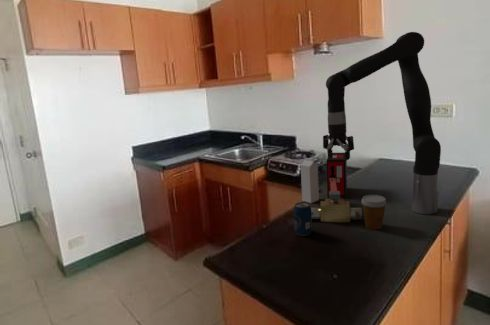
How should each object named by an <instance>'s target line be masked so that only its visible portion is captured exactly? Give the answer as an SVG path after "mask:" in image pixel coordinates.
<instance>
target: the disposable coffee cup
mask: <svg viewBox="0 0 490 325" xmlns="http://www.w3.org/2000/svg"><path fill="white" fill-rule="evenodd" d="M360 201H361V204H362V213H363V218H364V226H365V228H367V229H369V230H373V231H374V230H381V229H382V228H383V221H384V216H385V210H386V205H387V203H388V201H387V200H386V198H385V197H384V196H382V195H378V194H367V195H364V196H363V197H362V199H361V200H360Z"/></svg>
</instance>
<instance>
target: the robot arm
mask: <svg viewBox="0 0 490 325" xmlns="http://www.w3.org/2000/svg"><path fill="white" fill-rule="evenodd" d="M424 46H425V38H424V36H423V35H422V34H421V33H419V32H417V31H410V32H406V33H405V34H402V35H401V36H399V37H398V38H397V39H396V40H395V42H394V43H393V44H391V45H389V46H388V47H385V48H384V49H382V50H380V51H379V52H376V53H374V54H371V55H369V56H367V57H364V58H362V59H360V60H359V61H357V62H355V63H353V64H351V65H350V66H348V67H346V68H345V69H342V70H340V71H337V72H336V73H334V74H332V75H330V76H329V77H328V78H326V82H325V87H326V89H327V97H328V98H327V128H328V134H325V135H323V136H322V148H323V149H325V150H327V158H328V157H329V158H330V159H331V158H333V153H334V152H333V148H334V147H335V146H337V147H341V149H343V151H344V153H345V160H347V161H349V160H350V159H351V151H353V150H355V144H354V135H349V136H347V116H346V108H345V107H346V106H345V104H346V103H345V91H346V90H345V89H346V87H347V86H348V85H350V84H353V83H354V84H355V83H356V82H359V81H361V80H363V79H365V78H367V77H369V76H370V75H373V74H374V73H376V72H378V71H379V70H381V69H383V68H385V67H387V66H388V65H391V64H393V63H395V62H397V63H398V66H399V70H400V73H401V74H400V76H401V81H402V82H401V83H402V89H403V95H404V102H405V106H406V110H407V113H408V117H409V118H408V119H409V121H410V124H411V132H412V146H413V150H414V152H415V154H414V155H415V156H414V165H413V167H412V168H413V171H412V173H413V174H412V192H411V193H412V195H411V198H412V199H411V210H412V212H414V213H416V214H421V215H432V214H438V209H439V208H438V206H439V204H438V203H439V191H438V190H437V189H438V178H439V176H438V175H439V168H440V165H441V154H442V153H441V152H442V149H441V148H442V147H441V144H440V141H439V140H438V139H437V138H436V137H435V134H434V131H433V127H432V123H431V115H432V98H431V93H430V87H429V84H428V82H427V79H426V77H425V75H424V74H423V71H422V69H421V67H420V66H421V65H420V60H419V53H420V52H421V51H422V50H423V48H424ZM329 141H330V142H329Z"/></svg>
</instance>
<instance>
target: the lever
mask: <svg viewBox="0 0 490 325" xmlns="http://www.w3.org/2000/svg"><path fill="white" fill-rule="evenodd" d="M330 187H331V191H329V198H328V199H341V198H340V191H337V187H336V181H330Z"/></svg>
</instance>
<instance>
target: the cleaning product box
mask: <svg viewBox="0 0 490 325" xmlns="http://www.w3.org/2000/svg"><path fill="white" fill-rule="evenodd" d="M347 161H348V160H345V152H333V158H331V159H330V158H329V157H328V156H327V159H326V186H327V189H326V190H327V191H326V192H327V194H326V195H327V196H326V197H327V199H329V191H331V187H330V181H336V187H337V191H340V199H346V198H347V191H348V188H347V187H348V176H347V175H348V174H347V169H348V167H347V163H348V162H347Z"/></svg>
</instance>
